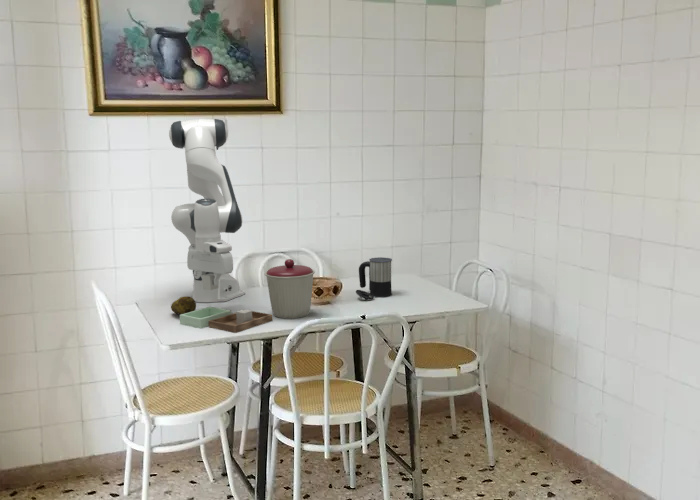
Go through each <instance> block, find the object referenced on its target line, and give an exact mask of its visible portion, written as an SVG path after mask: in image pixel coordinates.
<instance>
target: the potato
mask: <svg viewBox="0 0 700 500" xmlns="http://www.w3.org/2000/svg"><path fill="white" fill-rule="evenodd" d="M170 309H171V311H172V313H174V314H178V315H179V316H180V315H181V314H185V313H188V312H192V311H196V310H197V302H195V300H194V299H193V298H192V297H191V296H189V295H188V296H181V297H179V298H177V299H176V300H174V301H173V302H172V303H171V304H170Z"/></svg>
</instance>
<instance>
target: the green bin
mask: <svg viewBox="0 0 700 500" xmlns="http://www.w3.org/2000/svg"><path fill="white" fill-rule="evenodd" d="M230 314H232V310H229V309H223V308H218V307H215V306H207V307H203V308H200V309H195V311H192V312H188V313H185V314H181V315H180V314H179V324H180V325H184V326H187V327H193V328H197V329H204V328H207V327H208V328H209V322H208V321H210V320H213V319H217V318H220V317H223V316H227V315H230Z"/></svg>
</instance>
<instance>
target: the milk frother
mask: <svg viewBox="0 0 700 500" xmlns="http://www.w3.org/2000/svg"><path fill="white" fill-rule="evenodd" d="M392 261H393V259H392V258H391V257H383V256H382V257H381V256H380V257H371V258H369V259H368V260H367V261H364V262H362V263H361V264H360V265H359V266H358V279H359V287H360V288H361V289H364V288H365V287H366V286H367V280H366V268H369V269H368V271H369V273H368V279H369V282H368V283H369V284H368V285H369V286H368V289H369V292H367V291H364V290H361V289H357V290H356V291H355V293H356V295H357V296H358V297H360V298H361V299H364V300H365V301H367V300H373V299H374V298H388V297H392V295H393V293H392V292H393V291H392Z"/></svg>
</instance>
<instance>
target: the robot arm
mask: <svg viewBox="0 0 700 500" xmlns="http://www.w3.org/2000/svg"><path fill="white" fill-rule="evenodd" d="M169 128H170V129H169V131H168V136H169V140H170V143H171V145H172V147H173V146H174V148H177V149H184V150H185V151H184V154H185V162H186V173H187V174H186V175H187V186H188V189H189V190H190V191H191V192H193V193H195V194H196V195H200V196H201V197H203V198H199V199H197V200H195V202H194V203H186V204H180V205H176V206H175V207H174V209H173V211H172V213H171V222H172V223H171V224H172V225H173V227H174V228H175V229H176V230H177V231H179V232H181V234H183V235H184V236H185V237H186V239H187V240H188V242H189V244H190V245H189V247H188V251H187V258H186V259H187V261H186V262H187V263H186V264H187V268H188V270H191V271H192V275H193V285H192V286H193V289H192V295H191V296H192V297H191V298H193V299H194V300H195V302H196V303H216V302H223V303H224V302H227V301H231V300H234V299H235V298H238V297H240V296H243V295H246V292H245V290H243V289H240V286H239V281H238V279H236V278H235V277H234V276H232V275H231V274H232V273H233V271H234V260H233V259H234V258H233V254H232V252H231V251H232V250H233V249H232V248H233V247H232V245H231V244H229V243H228V242H226V241H225V240H223V239H222V238H221V233H226V234H227V233H228V234H235V233H236V232H238V231H239V230H240V229H241V228H242V226H243V214H242V212H241V210H240V208H239V205H238V204H239V203H238V202H237V198H236V195H235V192H234V187H233V185H232V181H231V178H230V175H229V172H228V169H227V168H226V166H225V165H224V164H221V162H219V160H218V158H217V155H216V151H217V150H218V151H219V148H220V147H223V146H224V145H225V144H226V142H227V139H228V136H229V135H228V134H229V130H228V127H227V125H226V123H225V121H224V120H221V119H218V118H214V119H212V118H210V119H209V118H197V119H187V120H182V121H181V120H178V121H174V122H172V124H171V125H170V127H169ZM220 189H221V191H220ZM210 273H212V274H214V276H215V278H214V280H212V282H213V283H212V284H213V285H218V286H219V288H217V289H213V290H206V289H203V277H202V275H205V274H210Z"/></svg>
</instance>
